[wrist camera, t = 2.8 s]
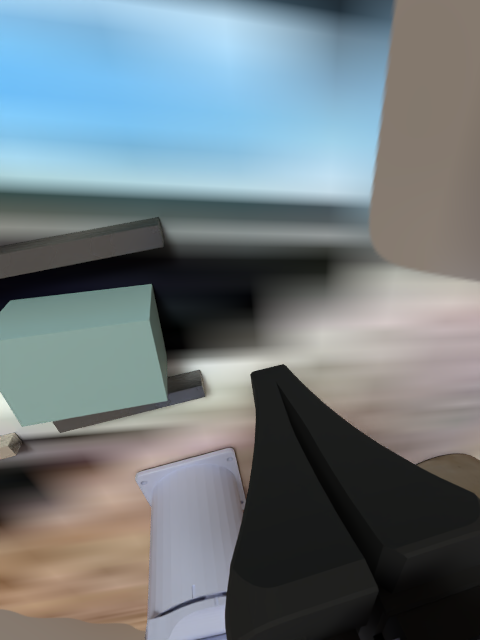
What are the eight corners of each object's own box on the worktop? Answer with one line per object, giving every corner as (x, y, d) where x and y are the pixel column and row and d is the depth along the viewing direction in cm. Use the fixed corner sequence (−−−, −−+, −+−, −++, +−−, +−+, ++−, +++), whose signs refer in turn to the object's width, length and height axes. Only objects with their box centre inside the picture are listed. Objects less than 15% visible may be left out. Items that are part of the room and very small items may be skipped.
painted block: (166, 354, 19) (167, 400, 16) (47, 372, 18) (22, 426, 15) (152, 282, 17) (149, 320, 13) (11, 299, 16) (-29, 344, 12)
